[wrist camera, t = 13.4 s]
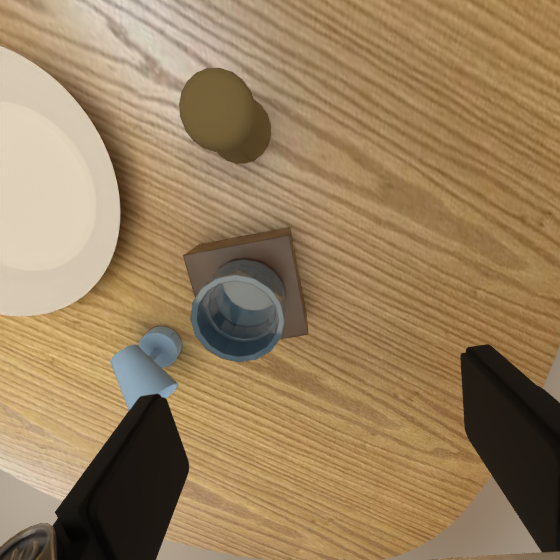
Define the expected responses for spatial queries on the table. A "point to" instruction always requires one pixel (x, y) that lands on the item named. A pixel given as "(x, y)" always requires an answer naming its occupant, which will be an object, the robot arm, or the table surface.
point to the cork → (224, 115)
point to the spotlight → (147, 365)
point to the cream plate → (50, 193)
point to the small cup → (240, 311)
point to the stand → (260, 248)
